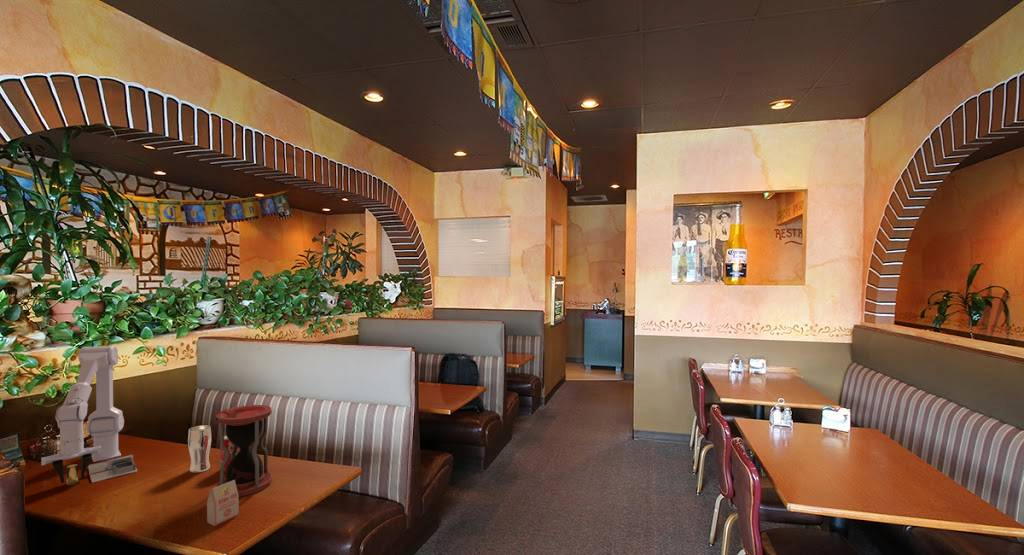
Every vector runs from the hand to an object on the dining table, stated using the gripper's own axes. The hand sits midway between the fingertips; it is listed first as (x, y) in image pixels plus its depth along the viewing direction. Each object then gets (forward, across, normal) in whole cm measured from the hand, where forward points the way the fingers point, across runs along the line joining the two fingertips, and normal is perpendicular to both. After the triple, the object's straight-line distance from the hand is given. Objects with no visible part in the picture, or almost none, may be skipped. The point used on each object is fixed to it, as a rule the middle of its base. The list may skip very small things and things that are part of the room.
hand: (72, 479), depth 155 cm
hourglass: (+2, +40, -44) cm, 59 cm away
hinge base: (+1, +10, 0) cm, 11 cm away
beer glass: (+2, +32, -18) cm, 37 cm away
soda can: (+2, +40, -26) cm, 48 cm away
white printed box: (+2, +28, -62) cm, 68 cm away
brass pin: (+1, 0, 0) cm, 1 cm away
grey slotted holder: (+1, +11, +8) cm, 13 cm away
